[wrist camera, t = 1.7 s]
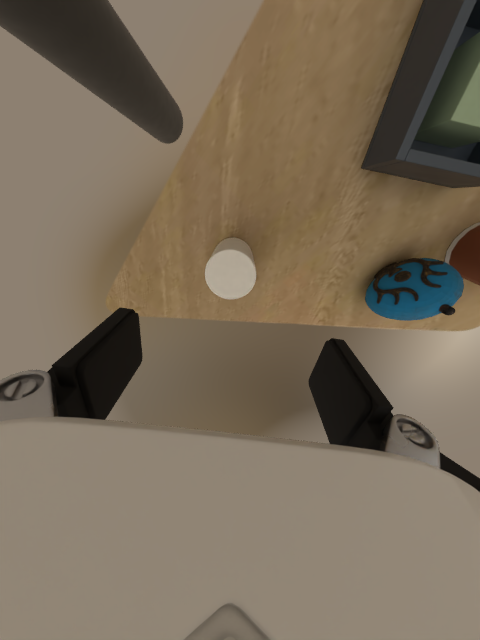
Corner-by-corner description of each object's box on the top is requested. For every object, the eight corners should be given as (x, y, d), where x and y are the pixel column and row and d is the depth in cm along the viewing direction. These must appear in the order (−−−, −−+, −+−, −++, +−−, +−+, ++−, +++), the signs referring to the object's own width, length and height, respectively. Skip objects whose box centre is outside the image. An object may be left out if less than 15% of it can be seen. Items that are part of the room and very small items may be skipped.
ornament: (411, 240, 25) (501, 261, 16) (423, 268, 27) (511, 301, 18) (347, 283, 28) (395, 321, 19) (362, 307, 29) (413, 351, 21)
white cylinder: (211, 274, 27) (202, 295, 21) (215, 234, 25) (207, 245, 19) (248, 280, 28) (250, 303, 22) (256, 241, 25) (261, 254, 19)
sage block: (404, 137, 20) (450, 120, 15) (438, 60, 17) (503, 13, 13) (452, 148, 20) (509, 134, 16) (491, 74, 18) (572, 34, 13)
